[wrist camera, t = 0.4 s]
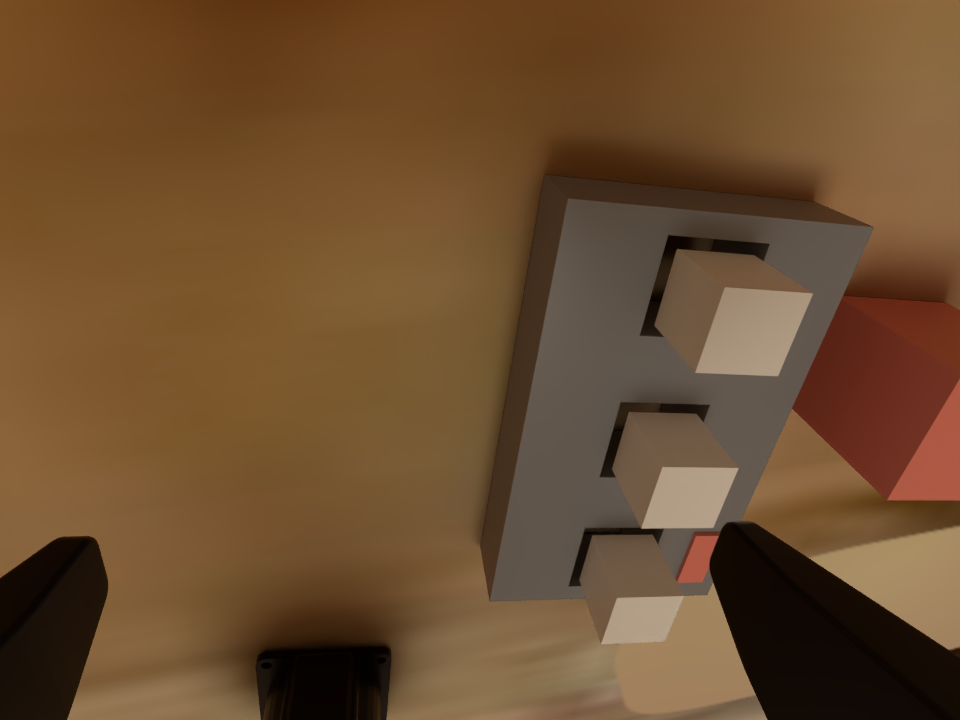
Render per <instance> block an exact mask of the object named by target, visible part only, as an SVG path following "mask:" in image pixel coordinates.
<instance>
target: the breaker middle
mask: <svg viewBox="0 0 960 720" xmlns="http://www.w3.org/2000/svg"><path fill="white" fill-rule="evenodd" d="M738 469H739V468H738V466H737V465H736V464H735V463H734V461H733V460H732V459H731V457H730V456H729V455H728V454H727V452H726V451H725V450H724V448H723V447H722V446H721V445H720V443H719V442H718V441H717V439H716V438H715V437H714V436H713V434H712V433H711V432H710V430H709V429H708V428H707V427H706V425H705V424H704V423H703V421H702V420H701V419H700V418H699V416H698V415H697V414H686V413H652V412H629V413H628V416H627V420H626V423H625V426H624V430H623V433H622V437H621V440H620V443H619V447H618V450H617V454H616V457H615V460H614V464H613V467H612V471H613V473H614V475H615V477H616V479H617V481H618V483H619V485H620V487H621V489H622V491H623V493H624V495H625V497H626V499H627V501H628V503H629V505H630V507H631V509H632V511H633V513H634V515H635V517H636V519H637V521H638V523H639V525H640V527H641V529H649V528H713V527H714V525H715V523H716V520H717V518H718V515H719V513H720V511H721V508H722V506H723V504H724V501H725V499H726V497H727V494H728V492H729V490H730V487H731V485H732V483H733V480H734V478H735V476H736V473H737V471H738Z"/></svg>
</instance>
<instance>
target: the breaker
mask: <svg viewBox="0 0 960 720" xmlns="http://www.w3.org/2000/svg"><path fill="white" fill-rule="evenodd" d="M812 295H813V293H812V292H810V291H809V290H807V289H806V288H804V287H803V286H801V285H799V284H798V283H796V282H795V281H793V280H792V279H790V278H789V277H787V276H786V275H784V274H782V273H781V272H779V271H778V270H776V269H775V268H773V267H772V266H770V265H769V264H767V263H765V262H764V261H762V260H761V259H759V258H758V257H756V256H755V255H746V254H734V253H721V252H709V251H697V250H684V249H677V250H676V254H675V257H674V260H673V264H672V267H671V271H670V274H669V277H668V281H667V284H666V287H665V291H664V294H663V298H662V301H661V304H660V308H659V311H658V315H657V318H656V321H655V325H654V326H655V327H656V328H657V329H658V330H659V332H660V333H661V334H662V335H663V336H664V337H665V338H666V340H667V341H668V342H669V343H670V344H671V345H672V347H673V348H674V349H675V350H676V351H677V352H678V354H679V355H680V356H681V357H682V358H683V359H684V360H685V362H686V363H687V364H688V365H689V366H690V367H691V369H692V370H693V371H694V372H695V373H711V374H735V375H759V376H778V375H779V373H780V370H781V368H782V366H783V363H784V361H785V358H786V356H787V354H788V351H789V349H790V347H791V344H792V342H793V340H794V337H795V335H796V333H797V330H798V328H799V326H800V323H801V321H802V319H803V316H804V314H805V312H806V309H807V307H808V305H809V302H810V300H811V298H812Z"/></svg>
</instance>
